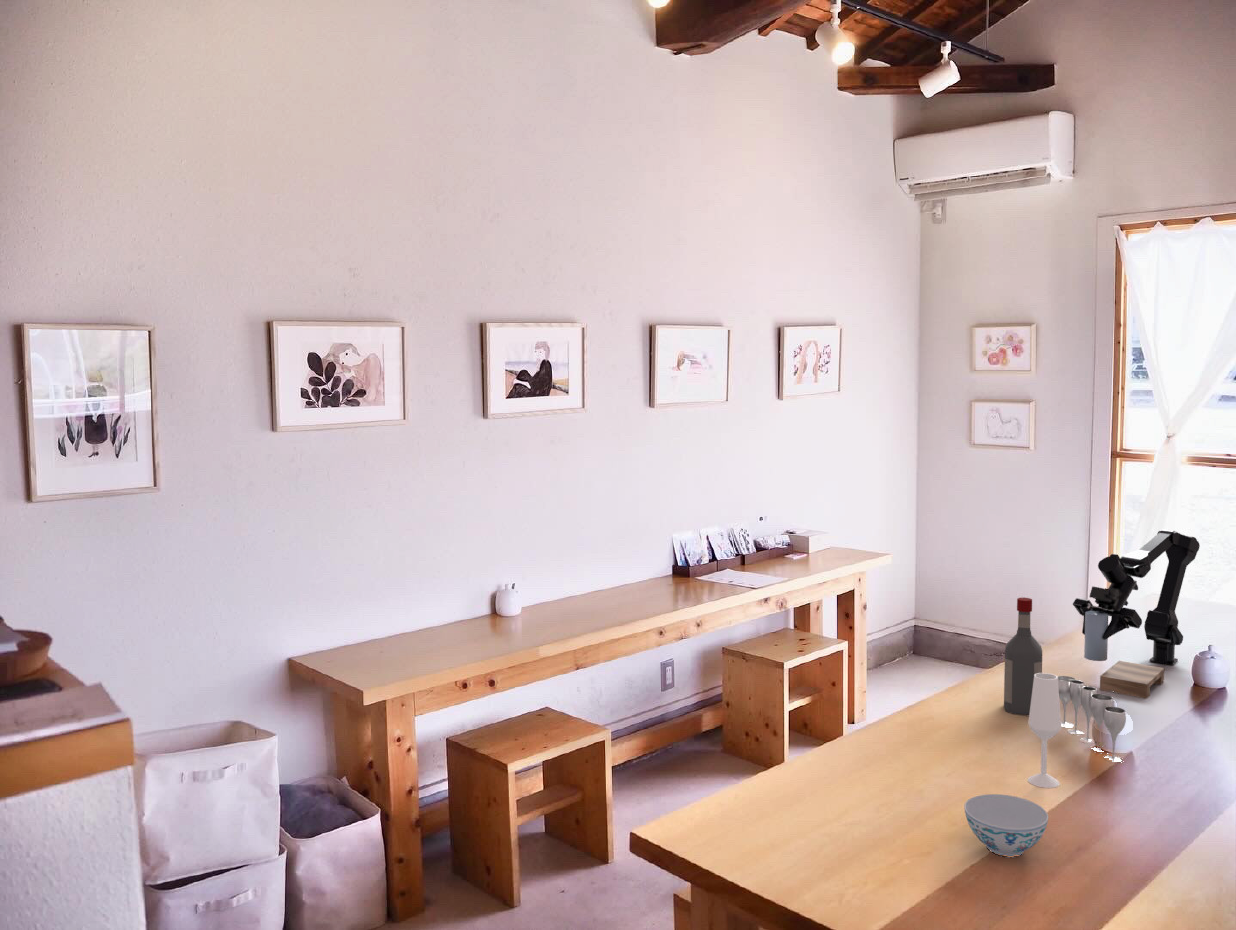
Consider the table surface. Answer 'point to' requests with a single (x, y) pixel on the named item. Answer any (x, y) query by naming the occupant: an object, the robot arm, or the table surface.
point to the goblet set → (1091, 709)
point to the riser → (1131, 678)
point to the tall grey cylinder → (1095, 636)
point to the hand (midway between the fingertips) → (1093, 636)
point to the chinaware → (1006, 822)
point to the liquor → (1021, 663)
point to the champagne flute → (1044, 721)
